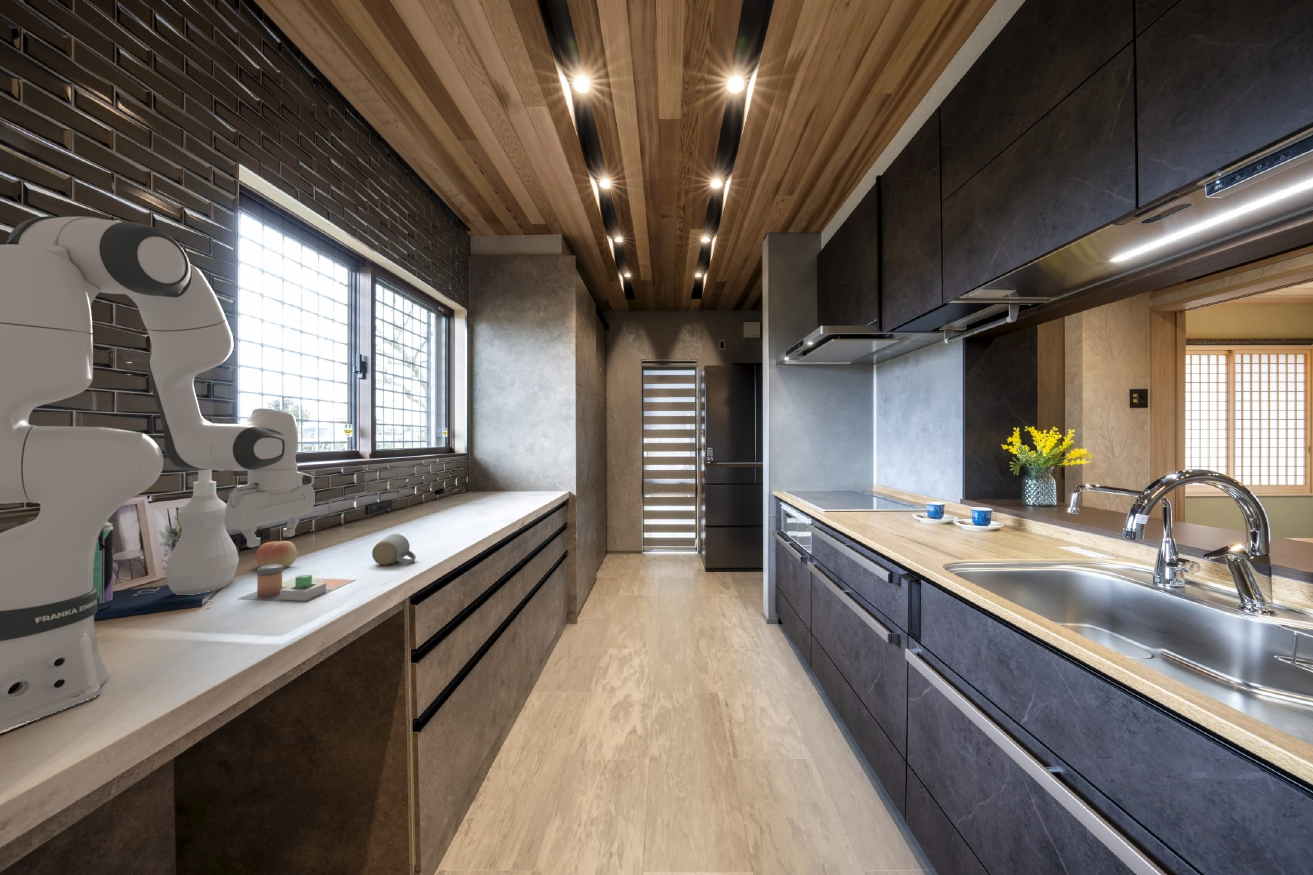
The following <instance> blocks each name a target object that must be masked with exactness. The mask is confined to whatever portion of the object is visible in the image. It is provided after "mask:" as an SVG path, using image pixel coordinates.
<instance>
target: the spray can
mask: <svg viewBox="0 0 1313 875" xmlns="http://www.w3.org/2000/svg"><path fill="white" fill-rule="evenodd" d="M113 556H114V526H113V522H109V521H107V522H106V523H105V525H104V526H103V528H102V530H101V532H100V534H99V537H98V540H97V543H96V549H95V555H94V565H93V587H94V588H96V589H97V604H100V603H105V602H107V601H111V600H112V599H113V596H114V595H113V593H114V592H113V590H114V588H113V585H114V584H113V581H114V577H113V574H114V568H113V566H114V557H113Z"/></svg>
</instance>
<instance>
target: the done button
mask: <svg viewBox="0 0 1313 875" xmlns="http://www.w3.org/2000/svg"><path fill="white" fill-rule="evenodd" d="M295 577H296V581H295V589H307V588H310V587H312V577H313V575H311V574H303V575H297V576H295Z"/></svg>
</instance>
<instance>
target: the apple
mask: <svg viewBox="0 0 1313 875" xmlns="http://www.w3.org/2000/svg"><path fill="white" fill-rule="evenodd" d="M297 555H298V552H297V548H296V545H295V544H294V543H293V542H291V541H290V540H279V541H278V540H274V541H269V542H265V543H262V544H260V545H259V546H258V548H257V550H256V553H255V559H256V563H257V566H259V567H262V566H266V565H283V569H285V568H289V567H290V566H292V565H293V564H294V562H295V561H296V559H297Z"/></svg>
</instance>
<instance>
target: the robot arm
mask: <svg viewBox="0 0 1313 875" xmlns="http://www.w3.org/2000/svg"><path fill="white" fill-rule="evenodd" d="M100 293H103V294H110V295H112V294H113V295H114V294H115V295H126V296H127V297H128V298H130V300H132V301H133V302H134V304H135V305H136V306H137V308H138V309H137V310H138V312H139V314H140V317H141V320H142V322H143V324H144V326H145V329H146V331H147V334H148V337H149V339H150V344H151V352H150V353H149V354H148V356H147V358H146V370H147V375H148V380H149V383H150V387H151V391H152V395H153V397H154V401H155V404H156V407H157V411H158V415H159V418H160V421H161V426H162V429H163V430H162V431H163V446H164V447H163V448H164V452H165V455H166V456H167V458H168V459H169V461H170V462H171V463H172V464H173V465H174V466H175V467H177V468H179V469H182V470H185V471H198V470H209V469H213V470H214V471H219V470H225V471H242V472H243V471H244V472H245V471H246V472H247V484H244V485H240V484H239V485H237V486H235V487H234V488H233V489H232V490H231V491H230V492H229V494H228V499H227V500H226V501H227V502H226V504H227V505H226V511H225V519H224V525H225V527H226V530H228V531H229V530H230V531H241V534H242V535H243V536H244V538H245V539H246V546H247V547H248V548H255V547H260V546H261V537H257V534H256V533H255V532H257V529H258V528H257V527H260V526H264V525H268V524H272V523H276V522H281V521H284V520H286V521H287V524H286V526H285V528H283V529H282V537H285V538H286V537H293V536H295V534H296V528H297V526H298V524H299V522H300V516H304V515H309V514H310V513H311V512H312V511H313V509H314V506H315V504H314V503H315V490H314V487H313V486H312V485H313V484H314V483H315V476H314V475H311V474H307V473H304V472H300V471H298V463H297V460H296V455H297V452H298V448H299V446H298V445H299V436H298V434H299V433H298V432H299V431H298V424H297V421H296V417H295V415H294V414H293V413H291V412H289V411H286V410H283V409H273V408H267V407H266V408H264V407H263V408H255V409H253V411H252V412H251V415H250V416H249V417H247V418H245V419H243V420H241V421H238V422H236V423H214V422H211V421H208V420H207V419H205V418H204V417H203V416H202V414H201V410H200V406H199V402H198V398H197V395H196V391H195V386H194V381H195V377H197V376H198V374H201V373H204V372H207V371H209V370H211V369H213V368H216V367H218V366H220V365H221V364H223V363H224V362H225V361H226V360H227V359H228V358H230V356H231V355H232V352H233V349H234V338H233V333H232V331H231V327H230V326H229V323H228V320H227V318H226V315H225V313H224V310H223V308H222V305H221V304H220V301H219V300H218V298H217V296H216V294H215V291H214V290H213V289H212V287H211V285H210V284H209V282H208V280H207V279H206V277H205V276H204V274H203V273H202V271H201V270H200V269H199V268H198V267H196V266H195V265H193V264H191V262H190V260H189V258H188V255H187V254H186V252H185V251H184V249H183V247H182V246H181V245H180V244H179V243H178V241H176V240H175V239H174V237H173V236H171V235H170V234H169V233H167V232H165V231H164V230H162V229H160V228H157V227H154V226H151V225H149V224H143V223H140V222H135V221H118V220H111V219H105V218H104V219H102V218H99V217H94V216H50V215H49V216H48V215H46V216H39V217H38V216H37V217H34V218H30V219H27V220H24V221H23V222H21V223H19V224H17V225H16V226H15V227H14V228H13V229H12V230H11V232H10V234H9V235H8V237H7V242H6V243H5V244H0V505H1V504H18V503H19V504H20V503H32V504H39V505H40V508H39V513H38V515H37V517H36V518H35V519H34V520H32V521H29V522H26V523H24V524H21V525H17V526H15V527H13V528H9V529H7V530H5V531H2V532H0V731H2V730H4V729H8V728H9V727H12V726H16V725H18V724H22V723H26V722H27V721H32V720H35V719H37V718H41V717H44V716H46V715H49V714H52V715H54V714H53V713H55V714H57V713H58V712H57V711H60V710H62V711H64V710H63V709H64V708H67V707H70V708H72V707H71V706H72V705H75V704H77V703H79V702H82V701H86V700H87V699H90V698H93V697H94V696H97V695H99V694H100V695H101V687H102V685H104V683H105V682H106V681H107V680H108V678H109V672H108V671H107V669H106V667H105V665H104V663H103V659H102V657H101V654H100V650H99V646H98V641H97V635H96V628H95V617H96V613H97V612H98V611H97V589H96V588H94V587H93V565H94V555H95V549H96V543H97V540H98V537H99V534H100V532H101V530H102V528H103V526H104V525H105V523H106V522H108V520H109V519H110V518H111V517H112V516H113V515H114V514H115V512H117V511H118V509H120V508H121V507H122V506H123V505H125V504H126V503H128V502H129V501H130V500H131V499H133V498H135V497H136V496H138V495H140V494H142V493H143V492H145V491H147V490H149V488H151V487H152V486H154V484H155V483H156V481H157V480H158V479H159V478H160V476H161V474H162V471H163V468H164V456H163V453H162V449H161V448H160V446H159V445H158V444H157V442H156V441H155V440H154V439H153V438H152V437H150V436H149V435H148V434H146V433H144V432H139V431H133V430H127V429H119V428H113V427H104V426H67V425H66V426H63V425H61V426H60V425H55V426H54V425H48V426H47V425H42V426H41V425H35V424H29V418H30V415H31V413H32V412H33V410H34V409H36V408H38V407H40V406H41V407H42V406H43V405H48V404H52V403H55V402H58V401H62V400H66V399H68V398H72V397H75V396H77V395H79V394H81V393H83V392H84V391H86V389H88V388H89V387H90V386H91V384H92V382H93V379H94V354H93V353H94V350H93V349H94V346H93V345H94V344H93V343H94V340H93V338H94V336H93V335H94V334H93V331H94V330H93V318H92V309H91V308H92V304H93V302H94V300H95V298H96V297H97V295H98V294H100ZM213 470H212V471H213ZM100 695H99V696H100ZM97 697H98V696H97ZM93 699H94V698H93ZM86 702H87V701H86ZM75 706H76V705H75ZM56 712H57V713H56ZM60 712H61V711H60ZM44 718H45V717H44Z"/></svg>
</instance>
